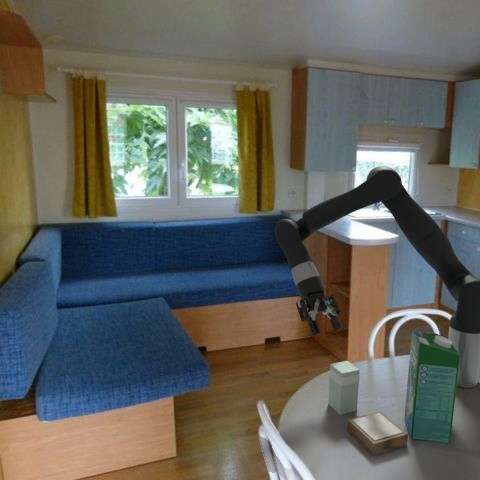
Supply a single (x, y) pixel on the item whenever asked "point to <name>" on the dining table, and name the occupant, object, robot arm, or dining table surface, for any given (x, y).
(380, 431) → the walnut podium
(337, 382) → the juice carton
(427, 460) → the dining table surface
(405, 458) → the dining table surface
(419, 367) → the milk carton
